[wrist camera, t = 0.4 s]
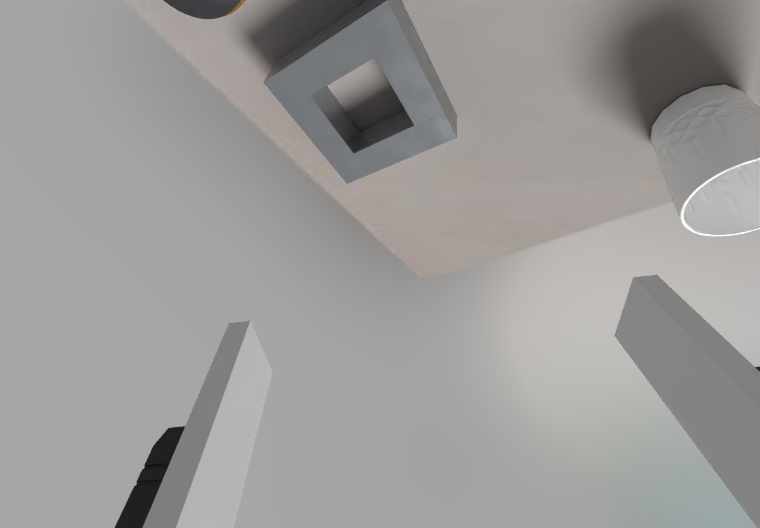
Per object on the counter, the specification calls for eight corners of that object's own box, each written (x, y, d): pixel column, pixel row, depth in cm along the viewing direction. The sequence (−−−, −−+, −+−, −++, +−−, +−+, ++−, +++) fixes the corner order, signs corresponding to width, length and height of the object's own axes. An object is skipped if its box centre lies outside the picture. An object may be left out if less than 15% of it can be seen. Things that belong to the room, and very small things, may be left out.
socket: (275, 62, 34) (263, 82, 32) (392, -18, 28) (387, 0, 26) (352, 162, 41) (347, 183, 39) (456, 115, 36) (456, 137, 33)
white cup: (622, 144, 36) (654, 221, 30) (697, 63, 30) (757, 139, 24) (693, 167, 37) (739, 246, 31) (781, 93, 31) (859, 173, 25)
